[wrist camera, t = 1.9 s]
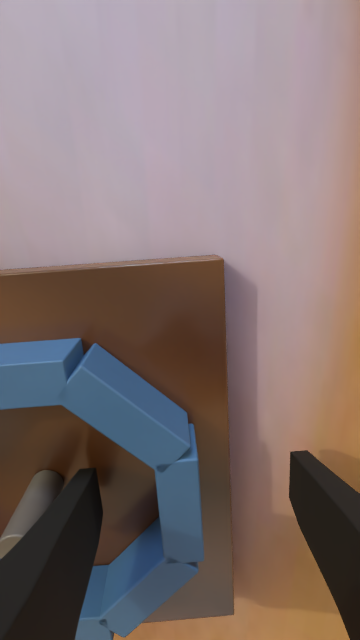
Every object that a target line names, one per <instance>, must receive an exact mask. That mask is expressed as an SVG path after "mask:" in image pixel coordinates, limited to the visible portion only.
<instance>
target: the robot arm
mask: <svg viewBox="0 0 360 640" xmlns="http://www.w3.org/2000/svg"><path fill="white" fill-rule="evenodd" d="M289 498H290V501H291V504H292V507H293V510H294V513H295V516H296V518H297V521H298V524H299V526H300V529H301V531H302V533H303V535H304V537H305V539H306V541H307V544H308V546H309V548H310V550H311V552H312V554H313V556H314V558H315V560H316V562H317V564H318V567H319V569H320V571H321V573H322V575H323V577H324V579H325V581H326V583H327V585H328V587H329V590H330V592H331V594H332V596H333V598H334V600H335V603H336V605H337V607H338V610H339V612H340V615H341V617H342V620H343V622H344V625H345V628H346V630H347V633H348V635H349V638H350V640H360V494H359V493H358V492H357V491H355V490H354V489H353V488H351V487H350V486H349V485H348V484H346V483H345V482H344V481H343V480H342V479H340V478H339V477H338V476H337V475H335V474H334V473H333V472H332V471H331V470H329V469H328V468H327V467H326V466H325V465H324V464H322V463H321V462H320V461H319V460H318V459H316V458H315V457H314V456H313V455H312V454H311V453H309V452H308V451H307V450H306V451H294V452H290V485H289ZM102 518H103V507H102V501H101V495H100V489H99V482H98V476H97V470H96V468H84V469H79V470H78V471H77V472H76V474H75V475H74V476H73V477H72V479H71V480H70V481H69V482H68V484H67V485H66V486H65V488H64V489H63V490H62V491H61V493H60V494H59V495H58V496H57V498H56V499H55V500H54V501H53V503H52V504H51V505H50V506H49V507H48V509H47V510H46V511H45V512H44V513H43V515H42V516H41V517H40V518H39V519H38V520H37V522H36V523H35V524H34V525H33V526H32V527H31V528H30V529H29V530H28V532H27V533H26V534H25V535H24V536H23V537H22V538H21V539H20V540H19V541H18V543H17V544H16V545H15V546H14V547H13V548H12V549H11V550H10V551H9V552H8V553H7V554H6V555H5V556H4V557H3V558H2V559H1V560H0V640H75V637H76V632H77V627H78V623H79V618H80V614H81V610H82V607H83V603H84V599H85V595H86V591H87V587H88V584H89V580H90V576H91V572H92V568H93V564H94V560H95V556H96V552H97V548H98V544H99V539H100V533H101V526H102Z"/></svg>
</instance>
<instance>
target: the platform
mask: <svg viewBox="0 0 360 640" xmlns="http://www.w3.org/2000/svg"><path fill="white" fill-rule="evenodd" d="M72 338H81V341H82V347H83V354H84V355H85V353H86V352H87V351H88V350H89V349H90V348H91V346H92V345H93V344H95V343H96V344H98V345H99V346H100V347H102V348H103V349H104V350H106V351H107V352H108V353H110V354H111V355H112V356H114V357H115V358H116V359H117V360H119V361H120V362H121V363H123V364H124V365H125V366H127V367H128V368H129V369H131V370H132V371H133V372H134V373H136V374H137V375H138V376H140V377H141V378H142V379H144V380H145V381H146V382H148V383H149V384H150V385H152V386H153V387H154V388H155V389H157V390H158V391H159V392H161V393H162V394H163V395H165V396H166V397H167V398H169V399H170V400H171V401H173V402H174V403H175V404H176V405H178V406H179V407H180V408H182V409H183V410H184V411H186V412H187V416H188V424H193V425H194V429H195V437H196V444H197V452H198V459H199V475H200V492H201V509H202V525H203V542H204V561H202V562H198V567H199V571H198V573H197V574H196V575H195V576H194V577H193V578H191V579H190V580H189V581H188V582H187V583H186V584H185V585H184V586H182V587H181V588H180V589H179V590H178V591H177V592H176V593H175V594H173V595H172V596H171V597H170V598H169V599H168V600H167V601H166V602H164V603H163V604H162V605H161V606H160V607H159V608H158V609H157V610H155V611H154V612H153V613H152V614H151V615H150V616H149V617H148V618H146V619H145V620H144V621H143V622H142V623H149V622H161V621H172V620H183V619H194V618H206V617H217V616H228V615H234V589H233V555H232V521H231V488H230V454H229V420H228V386H227V353H226V319H225V285H224V260H223V258H221V257H219V256H217V255H206V256H192V257H178V258H164V259H150V260H135V261H121V262H107V263H93V264H78V265H64V266H50V267H36V268H21V269H7V270H0V344H5V343H18V342H32V341H45V340H59V339H72ZM84 468H96V470H97V476H98V482H99V489H100V495H101V501H102V507H103V518H102V526H101V533H100V539H99V544H98V548H97V552H96V556H95V560H94V564H93V566H97V565H109V564H110V563H112V562H113V561H114V560H115V559H116V558H117V557H118V556H119V555H120V554H121V553H122V552H123V551H124V550H125V549H126V548H127V547H128V546H129V545H130V544H131V543H132V542H133V541H134V540H135V539H136V538H137V537H138V536H140V535H141V534H142V533H143V532H144V531H145V530H146V529H147V528H148V527H149V526H150V525H151V524H152V523H153V522H154V521H155V520H156V519H157V518H158V517H159V508H158V498H157V489H156V479H155V470H154V469H152V468H151V467H149V466H148V465H146V464H145V463H144V462H142V461H141V460H139V459H138V458H136V457H135V456H134V455H132V454H131V453H129V452H128V451H126V450H125V449H123V448H122V447H121V446H119V445H118V444H116V443H115V442H113V441H112V440H111V439H109V438H108V437H106V436H105V435H103V434H102V433H101V432H99V431H98V430H96V429H95V428H93V427H92V426H90V425H89V424H88V423H86V422H85V421H83V420H82V419H80V418H79V417H78V416H76V415H75V414H73V413H72V412H70V411H69V410H67V409H66V408H65V407H63V406H62V405H55V406H42V407H29V408H16V409H4V410H0V559H2V558H3V557H4V556H5V555H6V554H7V553H8V552H9V551H10V550H11V549H12V548H13V547H14V546H15V545H16V544H17V543H18V541H19V540H20V539H21V538H22V537H23V536H24V535H25V534H26V533H27V532H28V530H29V529H30V528H31V527H32V526H33V525H34V524H35V523H36V522H37V520H38V519H39V518H40V517H41V516H42V515H43V513H44V512H45V511H46V510H47V509H48V507H49V506H50V505H51V504H52V503H53V501H54V500H55V499H56V498H57V496H58V495H59V494H60V493H61V491H62V490H63V489H64V488H65V486H66V485H67V484H68V482H69V481H70V480H71V479H72V477H73V476H74V475H75V474H76V472H77V471H78V470H79V469H84Z"/></svg>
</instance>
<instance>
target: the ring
mask: <svg viewBox="0 0 360 640" xmlns="http://www.w3.org/2000/svg"><path fill="white" fill-rule="evenodd" d="M55 405H62V406H63V407H65V408H66V409H67V410H69V411H70V412H72V413H73V414H75V415H76V416H78V417H79V418H80V419H82V420H83V421H85V422H86V423H88V424H89V425H90V426H92V427H93V428H95V429H96V430H98V431H99V432H101V433H102V434H103V435H105V436H106V437H108V438H109V439H111V440H112V441H113V442H115V443H116V444H118V445H119V446H121V447H122V448H123V449H125V450H126V451H128V452H129V453H131V454H132V455H134V456H135V457H136V458H138V459H139V460H141V461H142V462H144V463H145V464H146V465H148V466H149V467H151V468H152V469H154V470H155V479H156V489H157V498H158V508H159V517H158V518H157V519H156V520H155V521H154V522H153V523H152V524H151V525H150V526H149V527H148V528H147V529H146V530H145V531H144V532H143V533H142V534H141V535H140V536H138V537H137V538H136V539H135V540H134V541H133V542H132V543H131V544H130V545H129V546H128V547H127V548H126V549H125V550H124V551H123V552H122V553H121V554H120V555H119V556H118V557H117V558H116V559H115V560H114V561H113V562H112V563H110V564H109V565H97V566H93V568H92V572H91V576H90V580H89V584H88V587H87V591H86V595H85V599H84V603H83V607H82V610H81V614H80V618H79V623H78V627H77V632H76V637H75V640H113V637H114V633H116V634H118V635H120V636H121V637H126V636H127V635H128V634H129V633H131V632H132V631H133V630H134V629H135V628H136V627H137V626H139V625H140V624H141V623H142V622H143V621H144V620H145V619H146V618H148V617H149V616H150V615H151V614H152V613H153V612H154V611H155V610H157V609H158V608H159V607H160V606H161V605H162V604H163V603H164V602H166V601H167V600H168V599H169V598H170V597H171V596H172V595H173V594H175V593H176V592H177V591H178V590H179V589H180V588H181V587H182V586H184V585H185V584H186V583H187V582H188V581H189V580H190V579H191V578H193V577H194V576H195V575H196V574H197V573H198V571H199V567H198V562H202V561H204V542H203V525H202V509H201V492H200V475H199V459H198V452H197V444H196V437H195V429H194V425H193V424H188V416H187V412H186V411H184V410H183V409H182V408H180V407H179V406H178V405H176V404H175V403H174V402H173V401H171V400H170V399H169V398H167V397H166V396H165V395H163V394H162V393H161V392H159V391H158V390H157V389H155V388H154V387H153V386H152V385H150V384H149V383H148V382H146V381H145V380H144V379H142V378H141V377H140V376H138V375H137V374H136V373H134V372H133V371H132V370H131V369H129V368H128V367H127V366H125V365H124V364H123V363H121V362H120V361H119V360H117V359H116V358H115V357H114V356H112V355H111V354H110V353H108V352H107V351H106V350H104V349H103V348H102V347H100V346H99V345H98V344H96V343H95V344H93V345H92V346H91V348H90V349H89V350H88V351H87V352H86V353H85V355H84V354H83V347H82V341H81V338H72V339H59V340H45V341H32V342H18V343H5V344H0V410H4V409H16V408H29V407H42V406H55ZM0 560H1V559H0Z"/></svg>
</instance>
